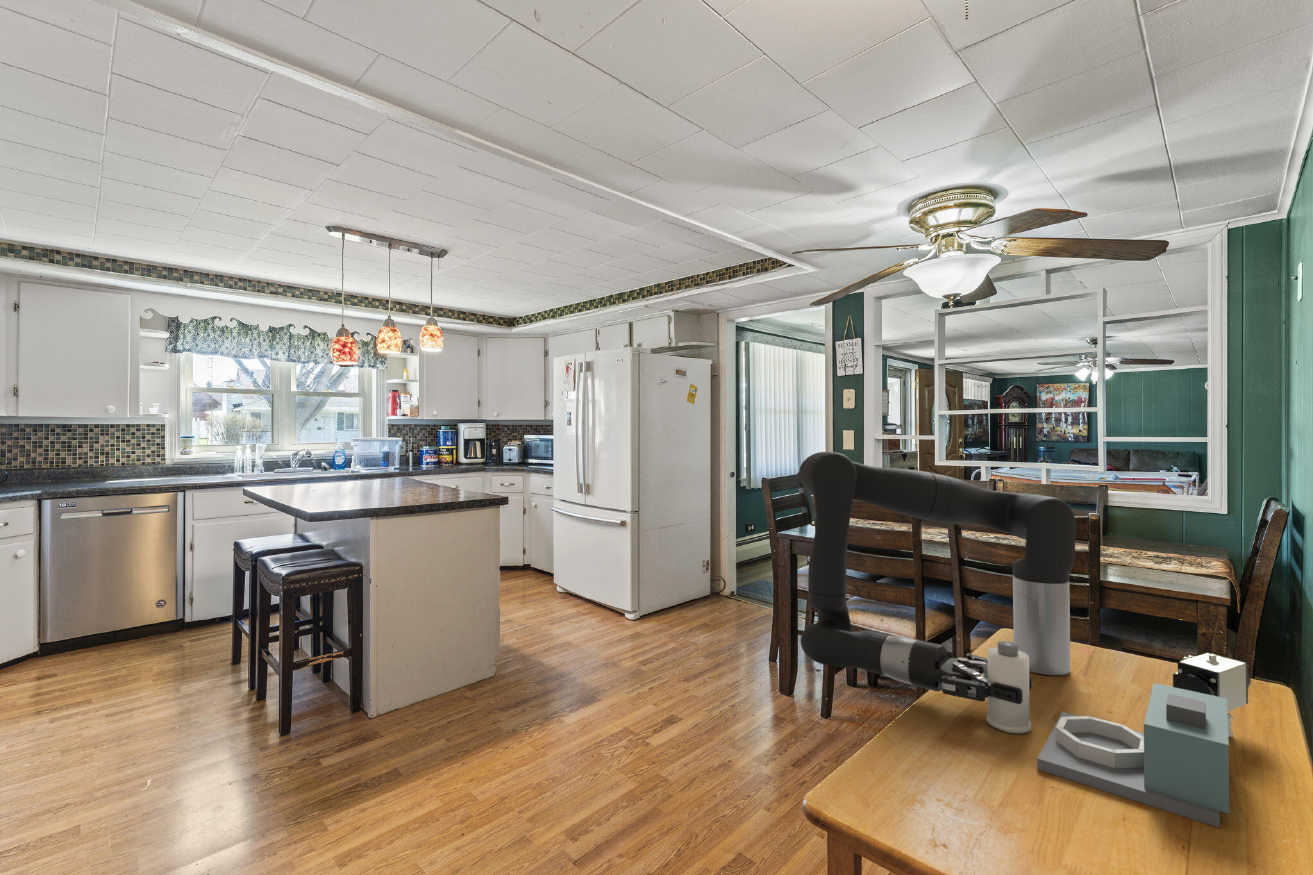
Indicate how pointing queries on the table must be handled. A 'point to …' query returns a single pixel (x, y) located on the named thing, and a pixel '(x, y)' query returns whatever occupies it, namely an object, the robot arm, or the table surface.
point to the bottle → (1012, 671)
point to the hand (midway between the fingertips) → (1026, 689)
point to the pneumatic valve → (1215, 679)
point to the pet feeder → (1151, 754)
